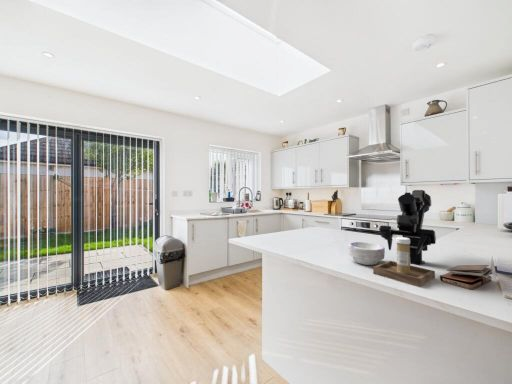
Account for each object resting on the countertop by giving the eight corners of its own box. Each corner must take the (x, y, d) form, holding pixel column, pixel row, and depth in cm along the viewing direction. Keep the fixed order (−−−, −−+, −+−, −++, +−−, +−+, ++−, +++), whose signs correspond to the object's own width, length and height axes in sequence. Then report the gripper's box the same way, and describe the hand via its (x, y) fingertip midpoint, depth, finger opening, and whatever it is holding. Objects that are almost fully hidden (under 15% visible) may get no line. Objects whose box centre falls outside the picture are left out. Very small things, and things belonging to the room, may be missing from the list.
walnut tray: (390, 266, 101) (390, 260, 101) (434, 278, 88) (434, 271, 88) (373, 273, 93) (373, 266, 93) (419, 286, 80) (419, 279, 80)
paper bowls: (389, 268, 99) (389, 249, 99) (351, 266, 102) (351, 248, 102) (378, 258, 114) (378, 242, 114) (345, 256, 117) (345, 241, 117)
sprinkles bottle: (412, 272, 90) (412, 238, 90) (407, 275, 88) (407, 239, 87) (399, 269, 94) (399, 236, 94) (394, 272, 91) (394, 237, 91)
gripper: (380, 206, 100) (372, 235, 92) (434, 208, 87) (430, 243, 80) (385, 222, 106) (378, 251, 98) (437, 227, 93) (433, 260, 85)
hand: (402, 251), depth 90 cm, fingers open, 9 cm apart
